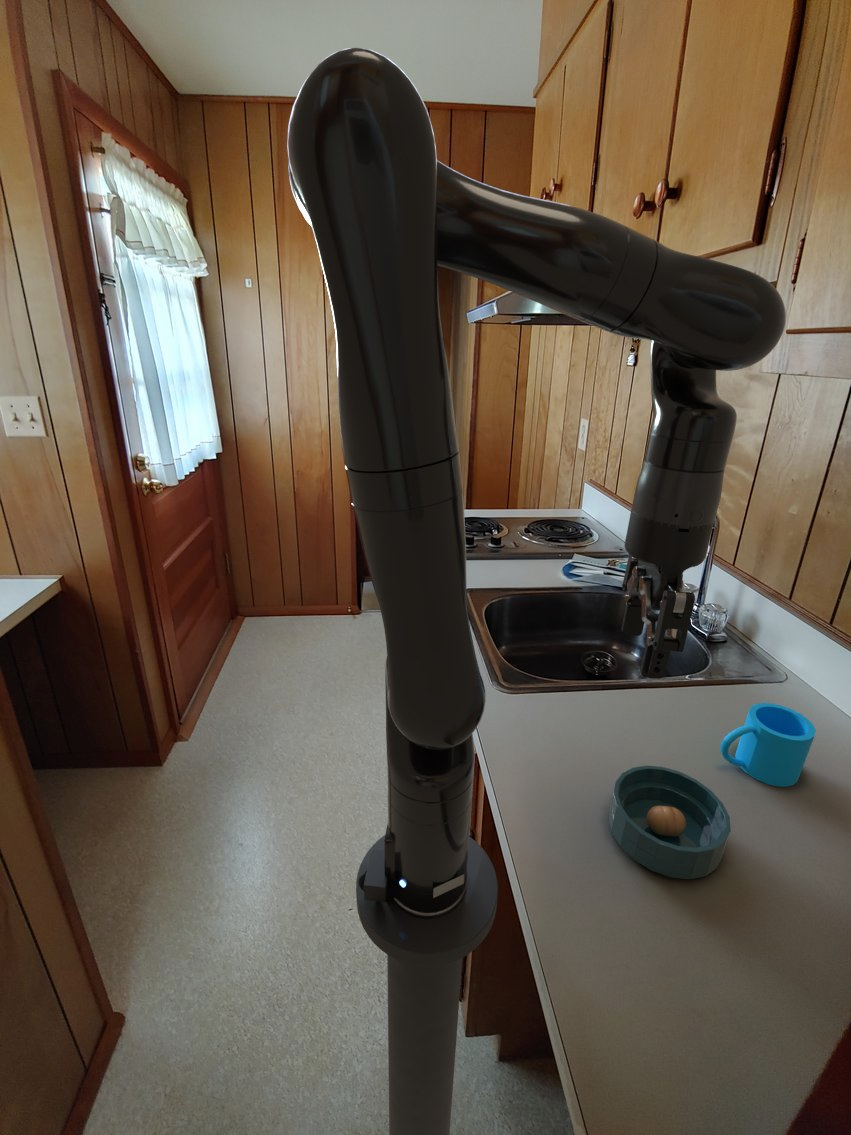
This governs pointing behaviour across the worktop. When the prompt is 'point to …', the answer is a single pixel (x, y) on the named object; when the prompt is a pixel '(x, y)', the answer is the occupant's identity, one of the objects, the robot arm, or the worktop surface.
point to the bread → (666, 821)
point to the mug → (771, 744)
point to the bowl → (669, 854)
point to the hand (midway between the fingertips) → (640, 653)
